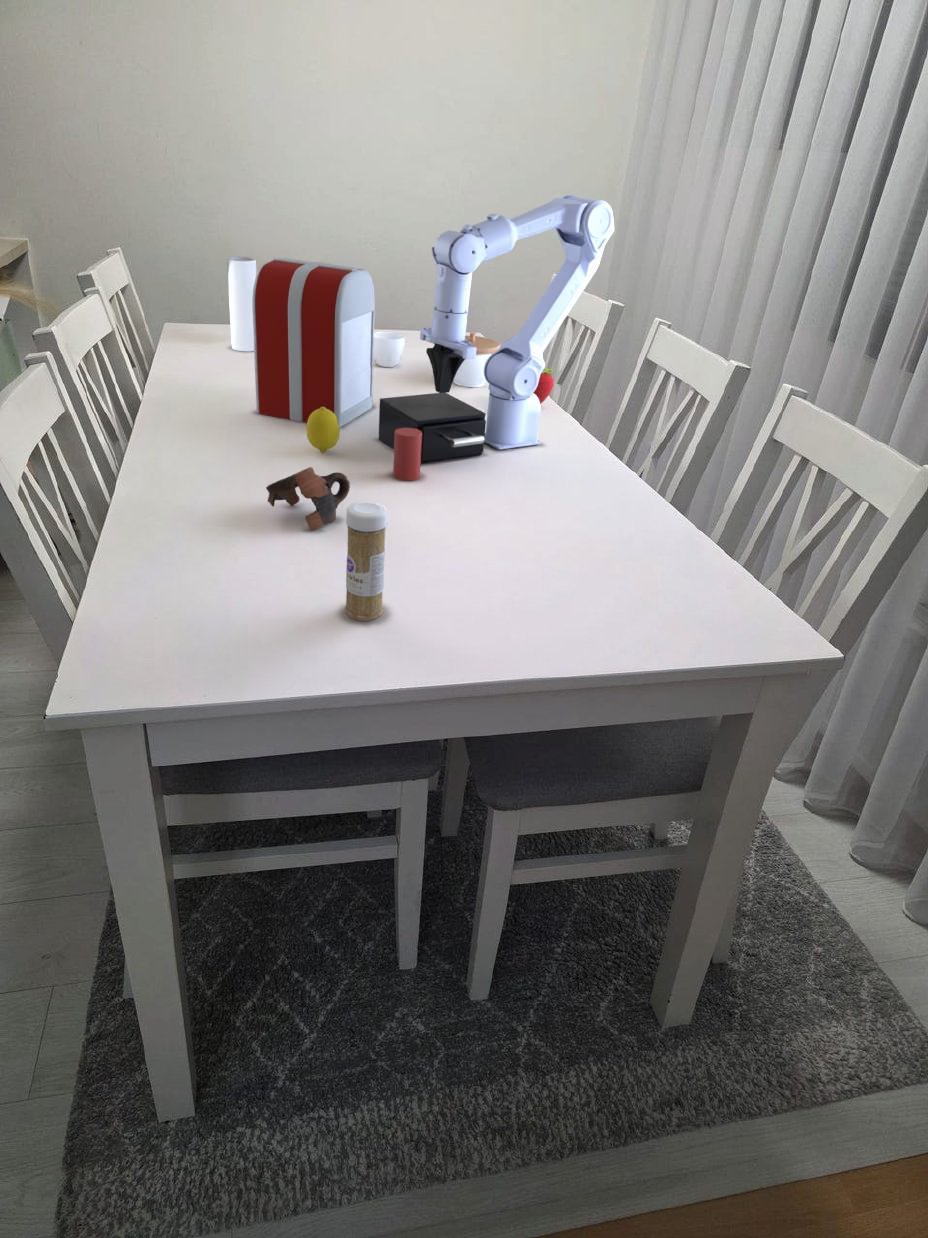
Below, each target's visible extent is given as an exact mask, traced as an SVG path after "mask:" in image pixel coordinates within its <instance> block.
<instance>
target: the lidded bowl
mask: <svg viewBox="0 0 928 1238" xmlns="http://www.w3.org/2000/svg"><path fill="white" fill-rule="evenodd" d="M465 339H466V340H467V341H468V342H469V343H470V344H472V345H473V346H475V347H477V349H476V358H475V359H465V360H464V361H463V363H462V364H461V366H460V367H459V369H458V371H457V373H456V375H455V378H454V380H453V383H452V384H454V385H457V386H460V387H465V388H481V387H484V386H485V385H486V383H488V382H487V381H486V379H485V377H484V365H485V362H486V360H487V359H488V358H489V356H490V355H491V354H493V353H494V352H496V351H497V350H498V349H499V348H500V347H501V343H500V341H497V340H495V339H493V338H489V337H483V336H477V333H476V332H473V331H471V332H469V335H465Z"/></svg>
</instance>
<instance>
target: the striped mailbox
mask: <svg viewBox="0 0 928 1238" xmlns="http://www.w3.org/2000/svg"><path fill="white" fill-rule="evenodd" d="M256 272H257V274H256V278H255V282H254V287H253V297H252V310H253V335H254V351H253V355H254V357H253V359H254V381H255V383H254V384H255V406H256V407H255V408H256V414H260V415H264V416H269V417H275V418H279V419H280V418H281V419H285V420H290V421H294V422H299V423H307V422H308V419H309V416H310V415H311V414H312V413H313V412H314V411H315V410H317V409H320V408H321V407H325V408H326V409H328V410H330V411H332V412H333V413H334V414H335V416H336V417H337V420H338V423H339V429H340V428H342V427H343V426H345V425H347V424H348V423H350V422H351V421H353V420H355V419H356V418H357V417H359V416H361V415H363V414H364V413H367V411H369V410H371V409H372V408H373V395H374V394H373V393H374V392H373V391H374V390H373V389H374V361H373V358H374V333H375V320H376V319H375V318H376V317H375V316H376V315H375V314H376V296H375V294H376V293H375V286H374V281H373V279H372V276H371V274H370V273H369V272H368V270H366V269H361V268H358V267H351V266H345V265H337V264H332V263H329V262H320V261H308V260H300V259H292V258H286V257H278V256H277V257H274V258H273V259H271V260H269V261H267V262H265V263H262V264H261V266H260V267H259V268H258V270H257V271H256Z"/></svg>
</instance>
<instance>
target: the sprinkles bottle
mask: <svg viewBox="0 0 928 1238" xmlns="http://www.w3.org/2000/svg"><path fill="white" fill-rule="evenodd" d="M345 523H346V526H347V550H346V551H347V555H346V567H345V568H346V569H345V570H346V571H345V572H346V573H345V574H346V576H345V589H346V596H345V606H344V611H345V614H346V615H347V616H348V618H351V619H353V620H355V621H360V622H364V621H365V622H366V621H367V622H368V621H372V620H376V619H378V618H380V617H381V616H382V615H383V613H384V608H383V595H384V593H383V591H384V587H385V586H384V585H385V584H384V583H385V561H386V560H385V559H386V548H385V547H386V545H385V543H386V542H385V541H386V530H387V529H386V528H387V525H388V509H387V508H386V507H385V506H384V505H383V504H381V503H377V502H373V501H358V502H357V501H356V502H353V503H351V504H350V505H348V506H347V508H346V513H345Z"/></svg>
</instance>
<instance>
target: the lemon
mask: <svg viewBox="0 0 928 1238" xmlns="http://www.w3.org/2000/svg"><path fill="white" fill-rule="evenodd" d="M306 437H307V440H308V442H309V444H310V445H311V446H312V447H313V448H315V449H317V450H318V451H319V452H320V453H323V454H324V453H326V452H327V451H328V450H330V449H332V448H334V447H335V446H336V444H338V441H339V438H340V428H339V423H338V420H337V417H336V416H335V414H334V413H333V412H332V411H330V410H328V409H326V408H325V407H321V408H320V409H317V410H315V411H314V412H313V413H312V414H311V415H310V416H309V419H308V422H306Z"/></svg>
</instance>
